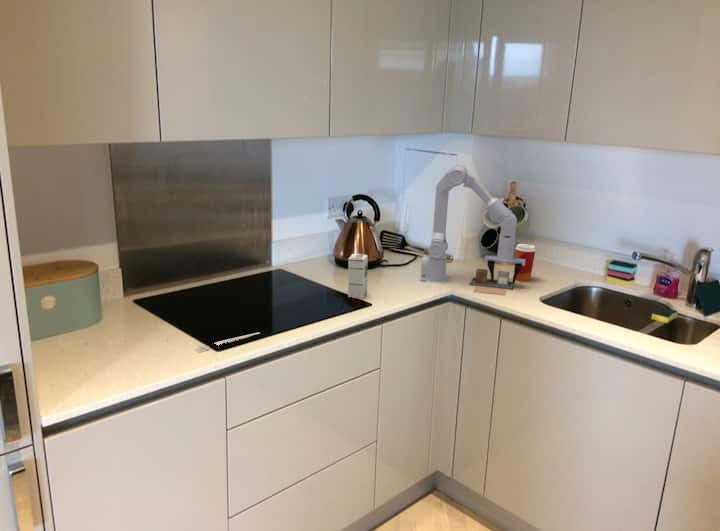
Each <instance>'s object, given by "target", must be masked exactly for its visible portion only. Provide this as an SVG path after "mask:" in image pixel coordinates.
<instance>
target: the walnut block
mask: <svg viewBox="0 0 720 531" xmlns="http://www.w3.org/2000/svg"><path fill="white" fill-rule="evenodd" d="M488 272H489V269H485V268H484V269H483V268H476V270H475V277H474V278H475V283H479V284H486V283H487V279H488Z"/></svg>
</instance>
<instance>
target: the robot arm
mask: <svg viewBox="0 0 720 531" xmlns="http://www.w3.org/2000/svg"><path fill="white" fill-rule="evenodd" d="M462 184H463V185H462ZM460 185H462V187H463V188H468V189H471V190H472V191H473V192H474V193H475V194H476V195H477V196H478V197H479V198H480V199H481V200H482V201H483V202H484V203H485V210H486V211H487V212H488V213H489V214H490V215H491V217H492V218H493V219H494V220H496V222H499V227H500V233H499V237H498V247H497V255H485V256H484V263H487V264H486V265H487V267H488V271H489V273H490V274H489V275H490V279H491V281H493V280H495V276H494V275H495V264H496V263H500V264H510V265H514V267H513V268H514V270H513V277H512V281H511V282H512V284H513V285H515V281H516V280H515V279H516V277H517V274H518V273H519V271H520V270H521V268H522V265H523V266H525V259H519V258H516V257H514V255H515V254H514V253H515V246H516V245H515V244H516V233H517V231H516V230H517V226H518V219H517V217H516V215H515V214H514V213H513V211H512V210H510V209H508V208H507V206H506V205H504V201H503V199H500V198H498V197H493V196H492V195H491V194H490V193H489V192H488V190H487V189H486V187H484V185H483V184H482V183H481V182H480V181H479V180H478V178H477V177H476V176H475V175H474V174H473V173H472V172H471V171H470V170H468V169H467V168H466V166H464V165H461V164H458V165H454V166H453V167H452V168H450V169H449V170H448V171H447V172H446V173H445V174H444V175H443V177H442V178H441V179H440V181H439V182H438V183H437V184H436V186H435V197H434V198H435V199H434V209H433V210H434V212H433V213H434V214H433V227H432V236H431V240H430V241H431V242H430V245H429V246H428V248H427V251H428V252H427V254H428V255H423V256H422V258H421V265H420V267H421V268H420V279H419V280H420V281H421V282H434V283H441V284H444V283H446V281H447V279H448V276H447V264H448V263H447V262H448V256H447V255H446V251H447V250H448V246H449V245H448V242H447V232H446V230H447V219H448V205H449V193H450V191H451V190H452V189H454V188H455V187H459V186H460Z"/></svg>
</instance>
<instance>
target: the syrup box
mask: <svg viewBox="0 0 720 531" xmlns="http://www.w3.org/2000/svg"><path fill="white" fill-rule="evenodd" d="M368 259H369V257H368V254H366V253H365V254H364V253H351V254H350V256H349V257H348V259H347V260H348V261H347V262H348V265H347V266H348V268H347V269H348V271H347V272H348V276H347V279H348V280H347V283H348V285H347V286H348V287H347V297H348V298H350V297H352V298H351V299H359V298H360V299H363V300H364V299H365V297H367V295H368V268H369V267H368V266H369V265H368V263H369V262H368V261H369V260H368Z"/></svg>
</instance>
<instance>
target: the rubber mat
mask: <svg viewBox="0 0 720 531" xmlns="http://www.w3.org/2000/svg"><path fill="white" fill-rule="evenodd" d="M506 291H507V289H500V288H491V287H483V286H475V287H474V290H473V292H474V293H479V294H489V295H495V296H496V295H497V296H504V297H505V296H506Z"/></svg>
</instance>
